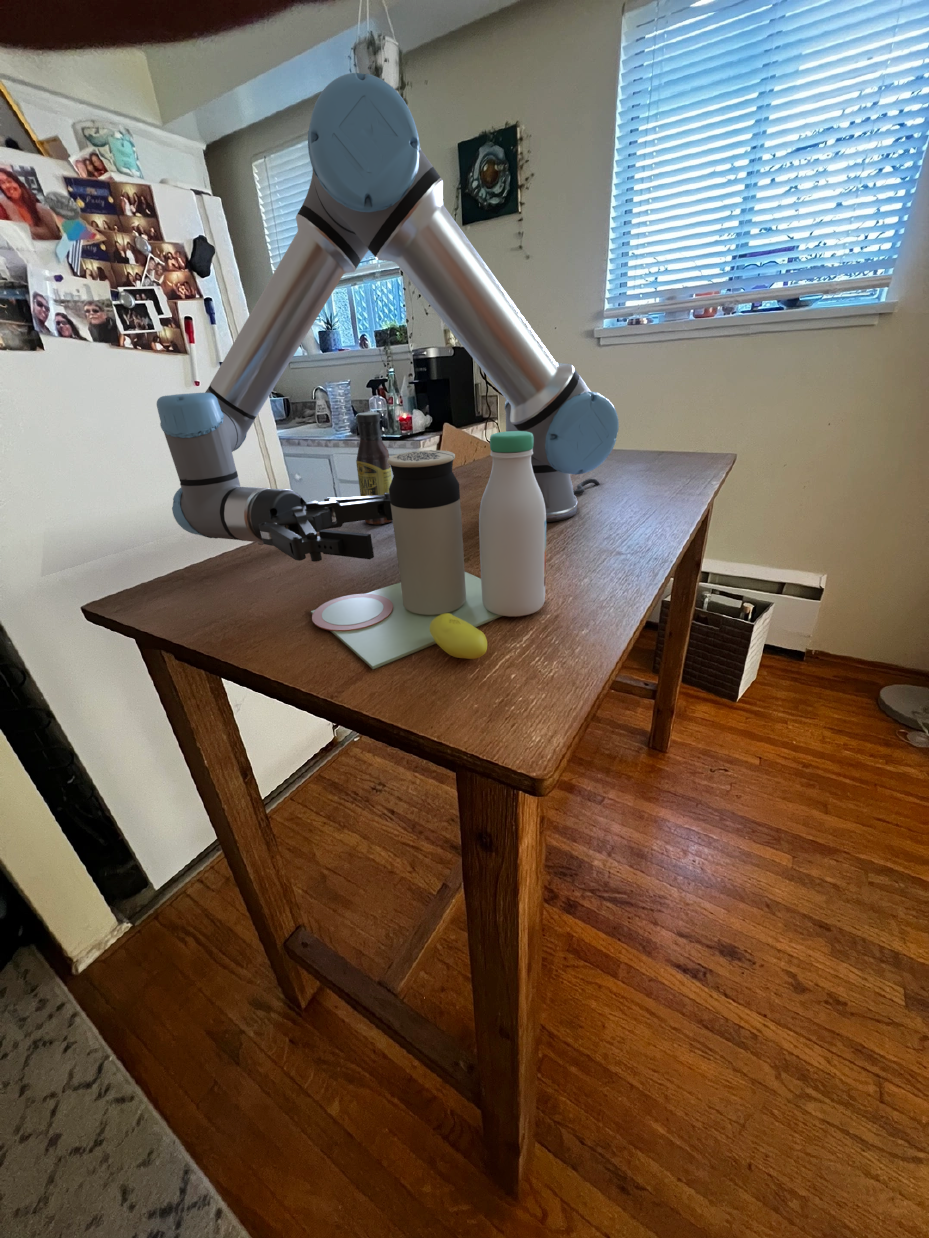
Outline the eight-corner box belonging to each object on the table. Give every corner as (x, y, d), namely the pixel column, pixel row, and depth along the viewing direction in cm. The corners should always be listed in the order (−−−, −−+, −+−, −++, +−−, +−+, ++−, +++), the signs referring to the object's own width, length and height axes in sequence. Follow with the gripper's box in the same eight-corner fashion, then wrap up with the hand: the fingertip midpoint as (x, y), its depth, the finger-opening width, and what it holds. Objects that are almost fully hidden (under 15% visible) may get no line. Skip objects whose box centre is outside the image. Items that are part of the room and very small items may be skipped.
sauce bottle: (357, 522, 99) (340, 414, 89) (382, 515, 103) (368, 410, 93) (378, 528, 95) (362, 415, 85) (403, 520, 99) (391, 411, 89)
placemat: (448, 566, 76) (447, 562, 75) (530, 604, 62) (530, 600, 62) (300, 613, 64) (299, 609, 64) (364, 673, 51) (363, 668, 50)
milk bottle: (542, 619, 58) (546, 437, 49) (477, 616, 59) (468, 440, 50) (546, 591, 64) (550, 427, 55) (487, 589, 66) (481, 429, 57)
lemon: (451, 629, 57) (450, 599, 55) (497, 661, 51) (497, 628, 49) (420, 642, 55) (417, 611, 53) (465, 676, 49) (464, 643, 47)
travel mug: (415, 623, 59) (397, 466, 51) (395, 598, 65) (376, 455, 57) (476, 607, 62) (469, 456, 53) (451, 585, 68) (441, 447, 60)
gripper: (331, 517, 80) (449, 527, 72) (202, 575, 61) (344, 598, 52) (322, 469, 77) (445, 474, 69) (182, 515, 57) (332, 529, 49)
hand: (402, 528), depth 60 cm, fingers open, 13 cm apart
